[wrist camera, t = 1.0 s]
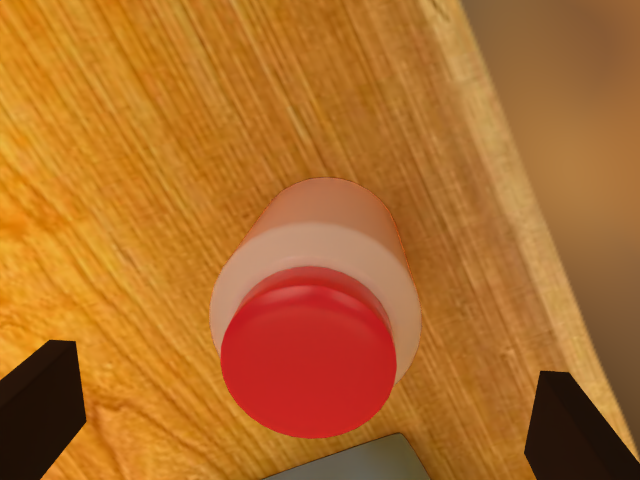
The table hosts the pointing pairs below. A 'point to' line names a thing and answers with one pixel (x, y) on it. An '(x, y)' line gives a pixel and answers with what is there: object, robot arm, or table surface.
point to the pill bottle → (316, 311)
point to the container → (364, 463)
